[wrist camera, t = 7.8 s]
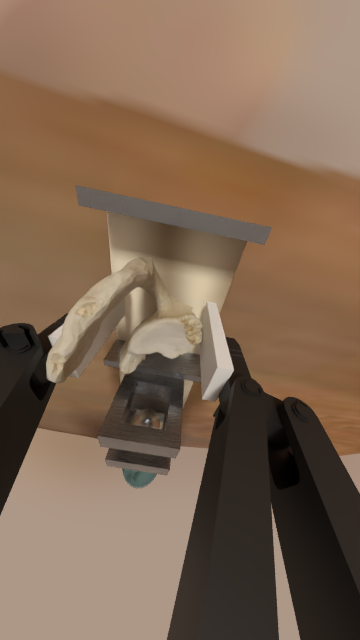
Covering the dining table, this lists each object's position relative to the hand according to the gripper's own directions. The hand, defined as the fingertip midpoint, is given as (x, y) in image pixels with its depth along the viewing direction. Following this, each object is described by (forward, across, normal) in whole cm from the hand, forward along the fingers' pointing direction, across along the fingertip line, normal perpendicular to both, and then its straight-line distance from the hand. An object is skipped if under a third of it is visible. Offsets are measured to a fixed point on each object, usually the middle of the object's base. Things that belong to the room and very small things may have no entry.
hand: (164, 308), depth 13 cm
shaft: (0, 0, -22) cm, 22 cm away
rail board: (+3, 0, -11) cm, 12 cm away
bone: (+1, 0, 0) cm, 1 cm away
